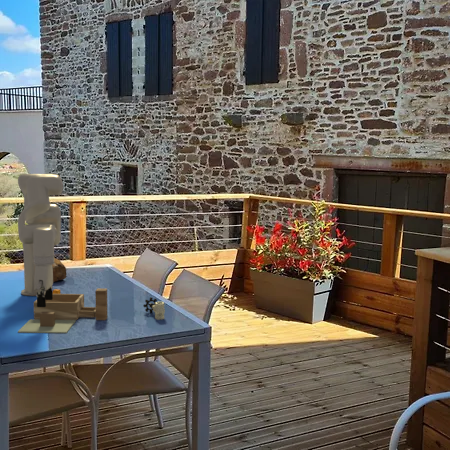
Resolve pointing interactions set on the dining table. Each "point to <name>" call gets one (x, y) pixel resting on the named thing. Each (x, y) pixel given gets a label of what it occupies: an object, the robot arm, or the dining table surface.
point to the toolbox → (66, 307)
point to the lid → (47, 324)
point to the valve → (155, 308)
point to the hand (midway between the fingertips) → (45, 303)
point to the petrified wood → (58, 270)
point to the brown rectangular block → (101, 304)
